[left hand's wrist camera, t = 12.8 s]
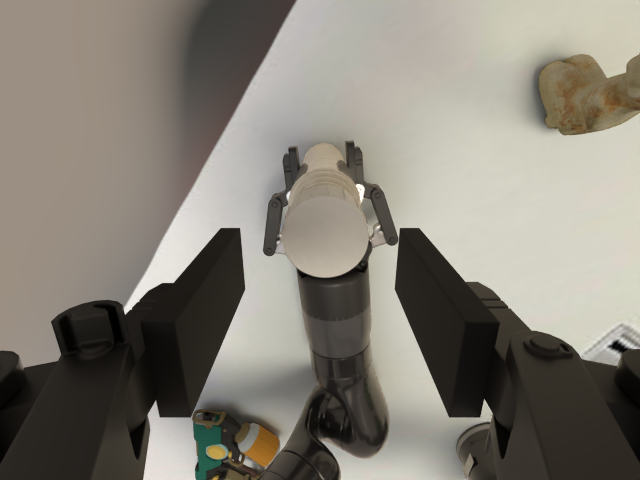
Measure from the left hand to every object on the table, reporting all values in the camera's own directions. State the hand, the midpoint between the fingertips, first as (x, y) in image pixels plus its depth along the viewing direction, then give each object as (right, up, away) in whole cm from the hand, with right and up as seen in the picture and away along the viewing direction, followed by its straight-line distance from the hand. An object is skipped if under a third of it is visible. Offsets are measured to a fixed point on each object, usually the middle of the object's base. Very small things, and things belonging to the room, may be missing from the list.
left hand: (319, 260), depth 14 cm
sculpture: (+25, +16, +22) cm, 37 cm away
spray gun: (-14, -32, +41) cm, 53 cm away
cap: (0, +1, +2) cm, 3 cm away
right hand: (0, +10, +18) cm, 20 cm away
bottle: (0, +9, +25) cm, 27 cm away
